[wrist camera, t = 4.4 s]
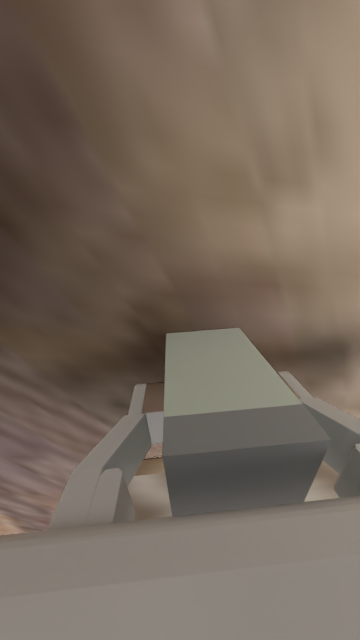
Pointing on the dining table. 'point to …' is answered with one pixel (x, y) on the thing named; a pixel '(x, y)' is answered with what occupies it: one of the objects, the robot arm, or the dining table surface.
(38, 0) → the dining table surface
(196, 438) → the grey rectangular block
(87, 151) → the dining table surface
